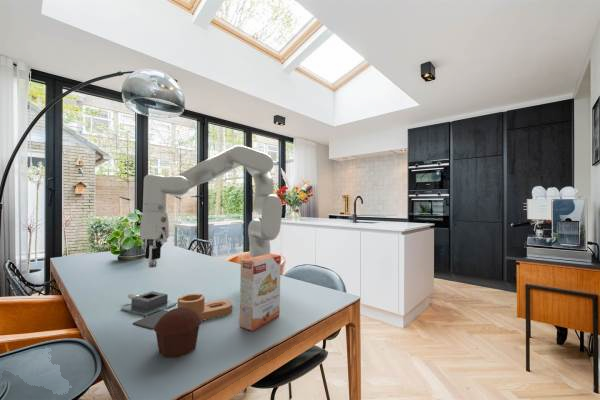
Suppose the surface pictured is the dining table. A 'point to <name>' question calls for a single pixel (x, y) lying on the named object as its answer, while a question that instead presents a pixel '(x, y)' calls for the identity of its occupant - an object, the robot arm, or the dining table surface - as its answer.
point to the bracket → (205, 306)
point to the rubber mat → (150, 320)
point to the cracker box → (259, 290)
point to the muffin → (177, 332)
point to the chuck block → (148, 303)
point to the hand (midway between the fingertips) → (152, 258)
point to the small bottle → (151, 262)
